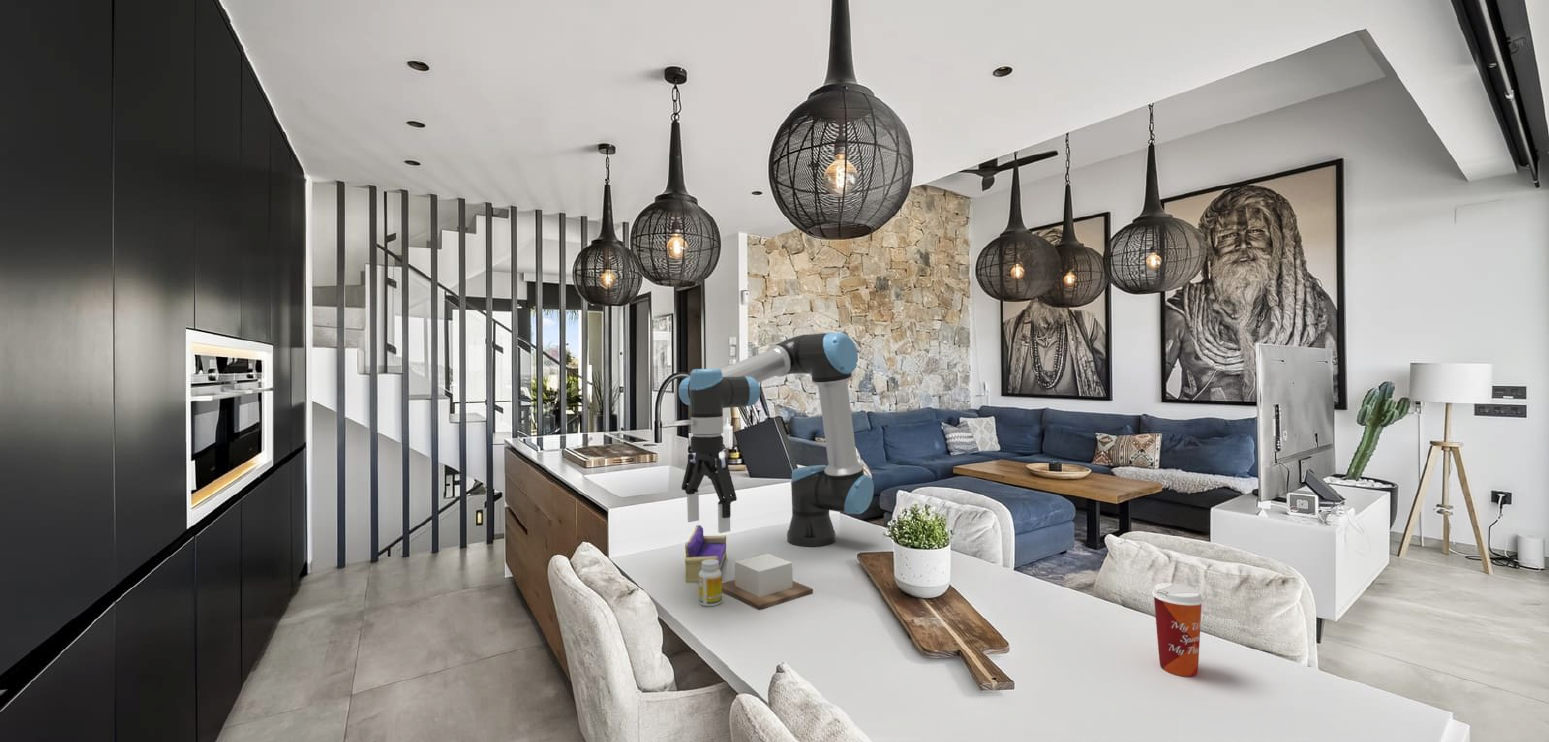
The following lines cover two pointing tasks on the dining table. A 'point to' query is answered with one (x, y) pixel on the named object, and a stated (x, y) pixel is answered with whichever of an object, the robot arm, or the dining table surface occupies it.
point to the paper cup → (1178, 627)
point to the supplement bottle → (710, 583)
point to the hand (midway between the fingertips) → (708, 526)
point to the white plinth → (763, 575)
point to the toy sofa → (702, 552)
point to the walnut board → (767, 600)
